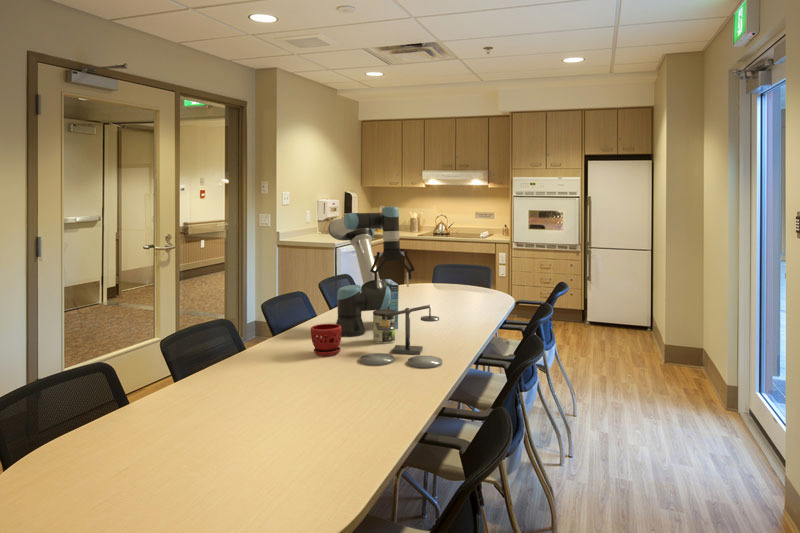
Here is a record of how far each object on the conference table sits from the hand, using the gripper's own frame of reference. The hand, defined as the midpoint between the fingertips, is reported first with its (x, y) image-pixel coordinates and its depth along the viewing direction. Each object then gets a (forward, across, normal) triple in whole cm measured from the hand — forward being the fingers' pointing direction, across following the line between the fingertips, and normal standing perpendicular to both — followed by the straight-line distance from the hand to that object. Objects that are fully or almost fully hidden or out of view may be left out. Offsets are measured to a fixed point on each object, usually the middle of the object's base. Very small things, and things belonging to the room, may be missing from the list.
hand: (393, 287), depth 267 cm
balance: (+27, +5, -14) cm, 31 cm away
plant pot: (+26, -30, -15) cm, 43 cm away
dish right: (+29, +11, -32) cm, 44 cm away
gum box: (+23, -2, +38) cm, 44 cm away
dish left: (+28, -8, -27) cm, 40 cm away
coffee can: (+26, -5, +5) cm, 27 cm away
